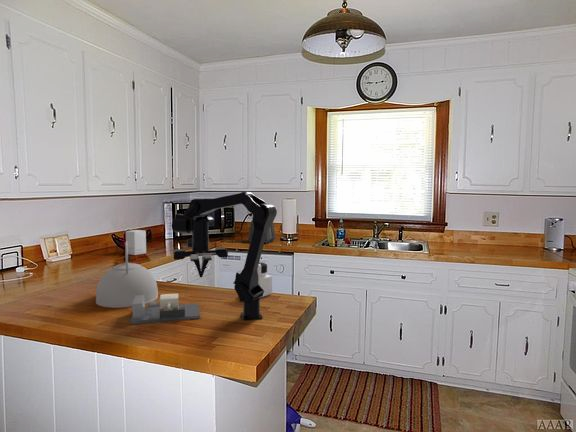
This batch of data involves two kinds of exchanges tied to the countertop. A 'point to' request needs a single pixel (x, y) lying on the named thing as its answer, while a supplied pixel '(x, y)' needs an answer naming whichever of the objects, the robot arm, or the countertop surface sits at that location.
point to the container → (264, 279)
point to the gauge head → (166, 301)
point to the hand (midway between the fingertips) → (200, 277)
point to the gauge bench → (156, 314)
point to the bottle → (269, 236)
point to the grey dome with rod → (125, 285)
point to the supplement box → (136, 242)
